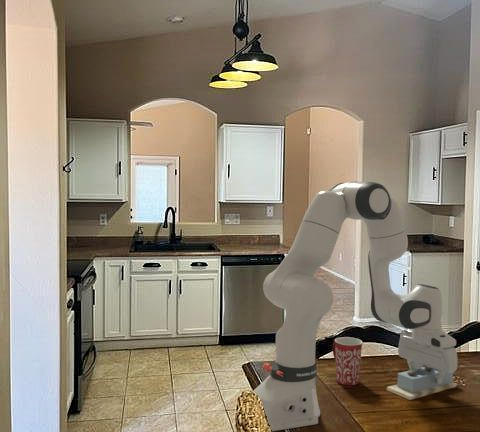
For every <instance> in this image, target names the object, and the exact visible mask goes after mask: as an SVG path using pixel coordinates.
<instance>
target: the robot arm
mask: <svg viewBox="0 0 480 432" xmlns="http://www.w3.org/2000/svg"><path fill="white" fill-rule="evenodd" d="M303 215H304V216H303V218H302V220H301V223H300V225H299V228H298V230H297V233H296V235H295V239H294V241H293V243H292V245H291V247H290V249H289V251H288V252H287V253H286V255H285V257H284V258H283V260H281V262H280V264H279V265H278V266H277V267H276V268H275V269H274V270H273V271H272V272H270V273H269V274H268V275H266V277H265V278H264V281H263V283H262V284H263V285H262V290H263V293H264V296H265V298H266V299H267V300H268V301H269V303H271V304H272V305H274V306H276V307H277V308H280V309H283V310H284V311H285V316H284V320H283V324H282V326H281V327H280V328H278V330H277V331H276V334H275V359H274V360H273V363H272V364H269V363H267V362H265V363H263V365H262V369H263V371H266V372H267V373H269V375H268V376H267V377H266V378H265V379H264V380H263V381H262V382H261V383H260V384H259V385H258V386H257V387H255V389H254V390H252V392H255V393H256V394H257V395H258V396H259V398H260V400H261V402H262V405H263V408H264V411H265V414H266V416H267V420H268V423H269V425H270V428H271V430H272V431H271V432H277V431H282V430H288V429H295V428H301V427H307V426H314V425H317V424H319V417H320V416H321V409H320V406H319V401H318V396H317V387H316V384H317V382H316V378H317V375H318V374H317V370H318V369H317V362H316V348H317V347H316V346H317V345H316V343H317V341H316V340H317V334H318V330H319V329H318V328H319V327H320V326H319V325H320V323H321V321H322V319H323V317H324V316H326V315H327V314H328V313H330V310H331V309H332V306H333V303H334V293H333V290H332V288H331V287H330V286H329V284H327V283H325V282H324V281H323V280H321V279H320V278H318V277H316V276H315V274H316V273H317V271H318V270H320V268H321V267H323V266H324V265H326V264H327V263H329V262H330V259H331V258H332V254H333V251H334V249H335V246H336V244H337V241H338V238H339V235H340V232H341V230H342V226H343V223H344V222H345V221H346V220H347V219H351V220H358V221H359V220H360V221H361V220H363V221H364V223H365V225H366V232H367V235H368V240H369V248H370V249H369V250H368V254H367V255H368V257H367V259H368V262H367V264H368V273H369V279H370V289H371V300H370V310H371V314H372V316H373V318H375V319H376V320H377V321H379V322H381V323H387V324H389V325H390V324H391V325H393V326H395V327H400V328H403V330H401V331H400V335H399V336H400V337H399V342H398V347H397V353H398V356H399V357H400V358H402V359H406V362H407V364H408V365H407V366H408V367H409V370H414V369H417V368H415V365H414V362H417V363H420V364H422V365H423V366H424V367H425V366H428V367H431V368H434V369H437V370H438V373H439V375H438V377H435V383H437V384H441V383H442V378H443V376H444V375H445V374H446V373H452V372H453V373H455V372H456V371H457V370H458V351H457V348H455V347H456V345H457V339H455V338H453V337H452V336H451V335H449V334H448V333H446V332H445V331H444V330H443V325H442V322H441V319H442V315H443V297H442V292H441V290H440V289H439V287H437V286H432V285H428V284H424V283H423V284H422V283H418V284H415V286H414V288H413V289H412V290H411V291H410V292H408V293H406V294H404V295H400V294H398V293H396V292H394V290H393V289H392V287H391V280H390V279H391V278H390V269H389V266H390V263H392V262H394V261H396V260H399V259H400V258H401V257H403V256H404V255H405V253H406V252H407V250H408V247H409V246H408V245H409V241H408V240H409V239H408V235H407V229H406V225H405V222H404V218H403V216H402V212H401V211H400V208H399V206H398V204H397V201H395V199H393V198H392V197H391V195H390V193H389V191H388V190H387V188H386V187H385V186H384V185H383V184H381V183H379V182H375V181H347V182H340V183H337V184H334V185H333V186H331V187H330V188H329V189H328V190H322V191H319V192H317V193H316V194H315V195H314V197H313V199H311V202H310V204H309V206H308V207H307V208H306V211H305V213H304V214H303Z"/></svg>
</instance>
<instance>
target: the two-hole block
mask: <svg viewBox="0 0 480 432" xmlns="http://www.w3.org/2000/svg"><path fill="white" fill-rule="evenodd" d="M424 368H425V366H423V367H422V368H418V369H414V370H413V371H416V375H414V376H410V374H408V373H407V371H408V370H407V371H402V372H398V373H397V387H399V388H402V389H404V390H407V391H409V392H411V393H415V392H419V391H422V390H426V389H429V388H433V387H436V386H440V385H444V384H447V383H451V382H454V380H453V379H454V372H452V373H446V374H445V375H444V376H443V378H442V383H441V384H437V383H435V377H438V375H439V373H438V370H437V369H434V368H433V370H432V371H431V372H428V371H427V370H425V369H424Z"/></svg>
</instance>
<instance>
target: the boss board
mask: <svg viewBox="0 0 480 432" xmlns="http://www.w3.org/2000/svg"><path fill="white" fill-rule="evenodd" d="M424 367H425V368H424V369H425V370H427V371H428V372H431V371H432V370H433V368H431V367H428V366H425V365H424ZM407 373H408V374H410V376H414V375H416V371H413V370H410V369H409V370H407ZM457 385H458V383H456V382H455V381H453V382H451V383H447V384H444V385H440V386H436V387H433V388H429V389H426V390H422V391H419V392H415V393H411V392H409V391H407V390H404V389H402V388H399V387H397V384H393V385H389V386H386V391H388V392H390V393H392V394H395V395H398V396H400V397H401V398H404V399H406V400H408V401H411V400H415V399H419V398H421V397H426V396H429V395H432V394H435V393H440V392H443V391H447V390H449V389H450V390H451V389H453V388H456V387H457Z"/></svg>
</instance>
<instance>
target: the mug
mask: <svg viewBox="0 0 480 432" xmlns="http://www.w3.org/2000/svg"><path fill="white" fill-rule="evenodd" d="M363 344H364V343H363V341H362V340H361V339H359V338H357V337H356V338H355V337H350V336H344V337H343V336H342V337H336V338H335V339H334V342H333V343H332V355H333V357H334V363H335V374H336V375H335V378H336V379H335V380H336V382H337V383H339V384H340V385H345V386H355V385H358V384H359V382H360V371H361V361H362V351H363V350H362V348H363Z"/></svg>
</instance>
